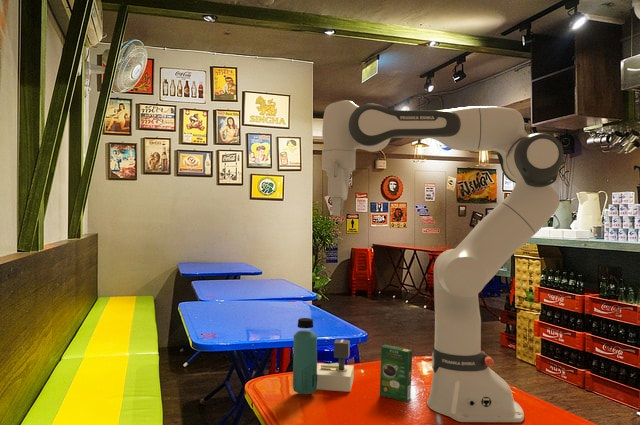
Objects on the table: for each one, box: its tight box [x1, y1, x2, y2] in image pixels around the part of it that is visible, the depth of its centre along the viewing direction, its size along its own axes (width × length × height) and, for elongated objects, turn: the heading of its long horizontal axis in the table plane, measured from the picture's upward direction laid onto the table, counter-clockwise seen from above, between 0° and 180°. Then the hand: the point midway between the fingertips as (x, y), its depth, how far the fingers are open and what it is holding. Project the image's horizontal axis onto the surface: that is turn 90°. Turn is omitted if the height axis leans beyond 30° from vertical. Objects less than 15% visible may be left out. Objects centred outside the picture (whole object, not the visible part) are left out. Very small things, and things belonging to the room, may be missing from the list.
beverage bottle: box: [292, 317, 318, 395], centre depth 124 cm, size 6×7×20 cm
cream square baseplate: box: [316, 362, 355, 393], centre depth 134 cm, size 12×11×4 cm
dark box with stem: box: [321, 339, 351, 370], centre depth 133 cm, size 8×4×8 cm, turn 81°
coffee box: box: [379, 344, 413, 403], centre depth 124 cm, size 8×3×13 cm, turn 57°
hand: (337, 216), depth 124 cm, fingers open, 8 cm apart
